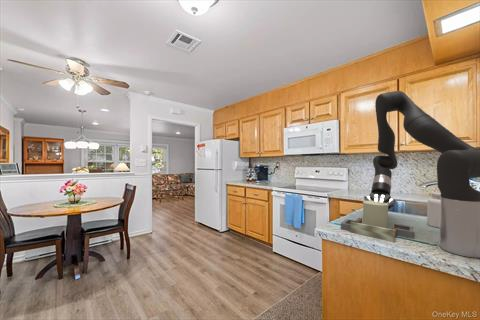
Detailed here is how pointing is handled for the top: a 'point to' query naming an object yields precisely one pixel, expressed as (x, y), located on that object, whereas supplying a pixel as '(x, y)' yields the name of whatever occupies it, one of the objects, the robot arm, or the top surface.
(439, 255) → the top surface
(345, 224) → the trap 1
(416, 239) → the top surface
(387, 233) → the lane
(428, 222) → the pill bottle
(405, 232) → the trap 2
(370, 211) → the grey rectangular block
